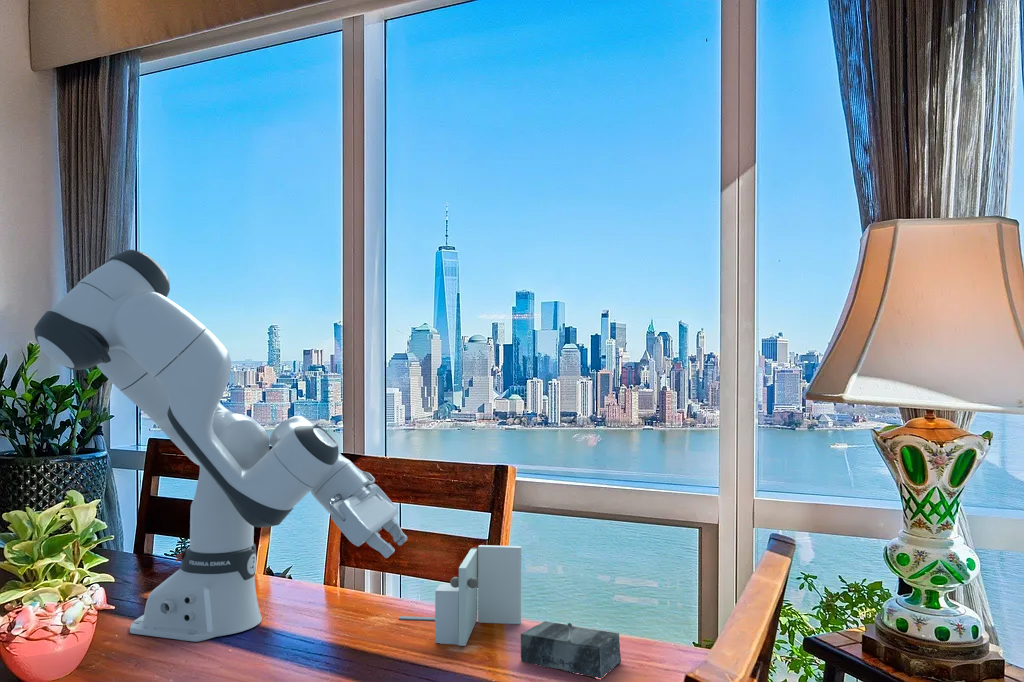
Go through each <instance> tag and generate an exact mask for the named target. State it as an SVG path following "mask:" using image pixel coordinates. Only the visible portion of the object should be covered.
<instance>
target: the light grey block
mask: <svg viewBox="0 0 1024 682" xmlns="http://www.w3.org/2000/svg"><path fill="white" fill-rule="evenodd" d="M434 592H435V599H434V601H435V606H434V607H435V609H434V610H435V611H434V613H435V614H434V615H435V616H434V617H435V621H434V629H435V630H434V631H435V634H434V638H435V639H434V644H436V643H440V644H441V645H443V644H444V645H458V631H459V587H457V588H454V587H452V586H451V584H450V583H449V584H448V583H439V585H438V586H437V588H436V589H435V590H434Z"/></svg>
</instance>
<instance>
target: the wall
mask: <svg viewBox="0 0 1024 682" xmlns="http://www.w3.org/2000/svg"><path fill="white" fill-rule="evenodd" d="M477 548H478V574H477V580H478V585H477V623H481V624H482V623H483V624H484V623H485V624H505V625H506V624H510V625H511V624H512V625H521V624H522V546H521V545H491V544H490V545H489V544H488V545H487V544H486V545H485V544H480V545H478V546H477ZM398 620H404V621H408V620H409V621H429V622H431V621H434V622H435V616H432V617H431V616H407V615H400V616H399V617H398Z"/></svg>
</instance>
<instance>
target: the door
mask: <svg viewBox="0 0 1024 682" xmlns="http://www.w3.org/2000/svg"><path fill="white" fill-rule="evenodd" d="M449 582H450V583H449V584H451V586H452V587H454V588H457V587H459V631H458V644H457V645H458V646H459V647H460V646H462V647H463V646H464V647H466V645H467V643H468V641H469V639H470V637H471V634H472V632H473V629H474V627H475V624H477V623H476V622H477V621H478V547H471V548H470V550H469V551H468V553H467V554H466V556H465V557H464V558H463V560H462V562H461V563H460V565H459V567H458V576H453V577H452V578H451V579H450V581H449Z"/></svg>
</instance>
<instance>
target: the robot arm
mask: <svg viewBox="0 0 1024 682" xmlns="http://www.w3.org/2000/svg"><path fill="white" fill-rule="evenodd" d="M169 278H170V277H169V276H168V274H167V272H166V270H165V269H164V268H163V267H162V266H161V264H159V263H158V262H157V261H156V260H155V259H154V258H153V257H151V256H150V255H148V254H147V253H145V252H143V251H139V250H136V249H126V250H124V251H121V252H119V253H117V254H115V255H113V256H111V257H110V258H109V259H108V261H107V262H105V263H104V264H102V265H100V266H99V267H98V268H96V269H94V270H93V271H91V272H90V273H89V274H87V275H85V276H84V277H83V278H82V279H81V280H80V281H78V282H77V284H76V285H75V286H74V287H73V288H72V289H70V290H69V292H67V294H65V295H63V297H62V298H61V299H60V300H59V301H58V302H57V303H56V304H55V305H54V307H53V308H52V309H51V310H47V311H46V312H45V313H44V314H43V315H42V316H41V317H40V319H39V320H37V321H38V322H37V323H36V324H35V326H34V328H33V330H34V331H33V332H34V337H35V341H36V342H37V343H38V345H39V346H40V349H41V350H42V352H43V353H44V354H45V355H46V356H47V357H48V358H49V359H50V360H51V361H53V362H54V363H56V364H59V365H61V366H63V367H65V368H67V369H69V370H73V371H79V370H81V371H82V370H87V369H89V368H92V367H95V366H96V367H97V368H98V369H99V370H100V371H101V373H102V374H103V375H104V376H105V377H106V378H107V380H109V381H110V382H111V383H112V384H113V385H114V386H115V387H116V389H118V390H119V391H120V392H121V393H122V394H124V396H126V397H127V398H128V399H129V400H130V401H131V402H132V403H133V404H135V406H137V407H138V408H139V409H140V411H142V412H143V413H144V414H145V415H146V416H147V417H149V418H150V420H152V421H153V423H155V425H157V426H158V428H159V429H160V430H161V431H162V432H163V433H164V434H165V436H166V437H168V438H169V440H170V441H171V442H172V443H173V444H174V445H175V446H176V447H177V448H178V449H179V450H180V451H181V452H182V453H183V454H184V455H185V456H186V457H187V458H188V459H189V460H190V461H191V462H193V463H194V464H195V465H197V466H199V475H198V480H197V485H196V489H195V490H196V491H195V494H194V497H193V500H192V502H191V504H190V508H189V509H190V511H189V512H190V517H189V518H190V519H189V525H190V526H189V547H187V548H186V549H185V550H182V551H181V553H178V554H177V555H175V558H176V559H175V562H176V563H177V562H179V561H180V563H181V564H180V566H179V569H177V570H176V571H175V572H174V573H173V574H172V575H170V576H169V577H168V578H166V579H165V580H164V581H163V582H161V583H160V584H159V585H158V586H156V587H155V588H154V589H153V590H152V591H151V592H150V593H149V595H148V596H147V600H146V603H145V605H144V606H145V607H144V612H143V613H144V614H143V615H140V616H139V617H138V618H136V619H134V620H133V622H131V624H130V628H129V633H130V634H133V635H134V634H135V635H140V636H141V635H142V636H148V637H149V636H150V637H155V638H156V637H157V638H163V639H172V640H179V641H187V642H188V641H189V642H203V641H207V640H210V639H213V638H216V637H223V636H227V635H228V636H229V635H233V634H237V633H241V632H244V631H247V630H250V629H253V628H254V627H257V626H258V625H259V624H261V622H262V620H263V617H262V614H261V611H260V606H259V602H258V597H257V590H256V580H255V579H256V578H255V575H256V572H257V545H256V543H254V536H255V531H254V530H255V528H270V527H275V526H279V525H280V524H281V523H282V522H283V521H284V520H285V519H286V517H287V516H288V515H289V514H290V513H291V512H292V511H293V509H294V507H296V505H297V504H298V503H299V502H300V501H301V500H302V499H304V498H305V497H306V496H307V495H308V494H309V493H311V495H312V496H313V497H314V499H315V500H316V501H318V503H319V504H320V506H322V508H324V509H325V511H327V513H328V514H329V515H330V517H331V520H332V521H333V523H334V524H335V525H336V526H337V528H338V529H339V530H340V531H341V533H342V534H343V535H344V536H345V538H346V539H348V541H349V542H350V543H351V544H353V545H354V546H356V547H360V546H362V545H363V544H364V543H366V544H367V545H368V546H369V547H370V548H371V549H374V550H375V551H377V552H379V553H380V554H381V555H382V556H383V557H384V558H385V559H388V558H389V557H390V556H391V555H393V554H394V553H395V551H396V549H395V547H393V545H392V544H391V543H390V542H387V541H385V539H383V538H382V537H381V534H380V533H379V532H380V531H381V530H382V529H384V530H385V531H386V532H388V533H389V534H390V535H391V537H392V538H393V539H392V540H393V541H394V543H396V544H397V545H398V546H402V545H403V544H405V542H406V541H408V536H407V534H405V533H404V532H403V530H402V528H401V526H400V525H399V523H398V521H396V519H395V518H396V517H397V516H398V514H399V511H398V508H397V507H396V505H395V504H394V503H393V502H392V500H391V499H390V497H388V496H387V494H386V493H385V492H384V491H383V490H382V488H381V487H379V485H378V484H376V483H375V482H376V479H375V477H374V475H372V474H371V473H370V472H368V471H363V470H361V469H360V468H359V467H358V466H356V465H355V464H354V463H353V462H352V461H351V460H350V459H348V458H346V457H345V456H344V455H342V454H341V452H340V450H339V444H338V443H337V442H336V440H335V439H333V437H332V436H331V435H330V434H329V433H328V432H327V431H326V430H325V429H324V428H323V427H322V426H320V425H315V424H314V423H312V422H311V421H310V420H308V419H307V418H306V417H304V416H302V415H294V416H292V417H289V418H287V419H285V420H284V421H282V422H281V423H280V424H278V425H277V427H275V429H274V430H273V431H272V433H271V434H270V437H269V435H268V433H267V431H266V429H265V428H264V427H263V426H262V425H261V424H260V423H259V422H258V421H257V420H256V419H255V418H252V417H251V416H249V415H246V414H244V413H243V414H242V413H236V412H233V411H231V410H229V409H228V408H226V407H225V405H223V404H222V402H221V399H222V397H223V395H224V392H225V390H226V388H227V386H228V383H229V380H230V378H231V372H232V361H231V355H230V352H229V351H228V349H227V348H226V347H225V345H224V344H223V343H222V342H221V340H220V339H218V337H217V336H216V335H215V334H214V333H213V332H212V331H210V329H209V328H207V327H206V326H205V325H204V324H203V323H202V322H201V321H199V319H197V318H195V316H194V315H192V314H191V313H190V312H188V311H187V310H186V309H184V308H183V307H181V306H180V305H178V303H175V302H174V301H173V300H171V299H169V298H168V295H169V293H170V291H171V287H170V286H171V285H170V283H171V282H170V279H169Z"/></svg>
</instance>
